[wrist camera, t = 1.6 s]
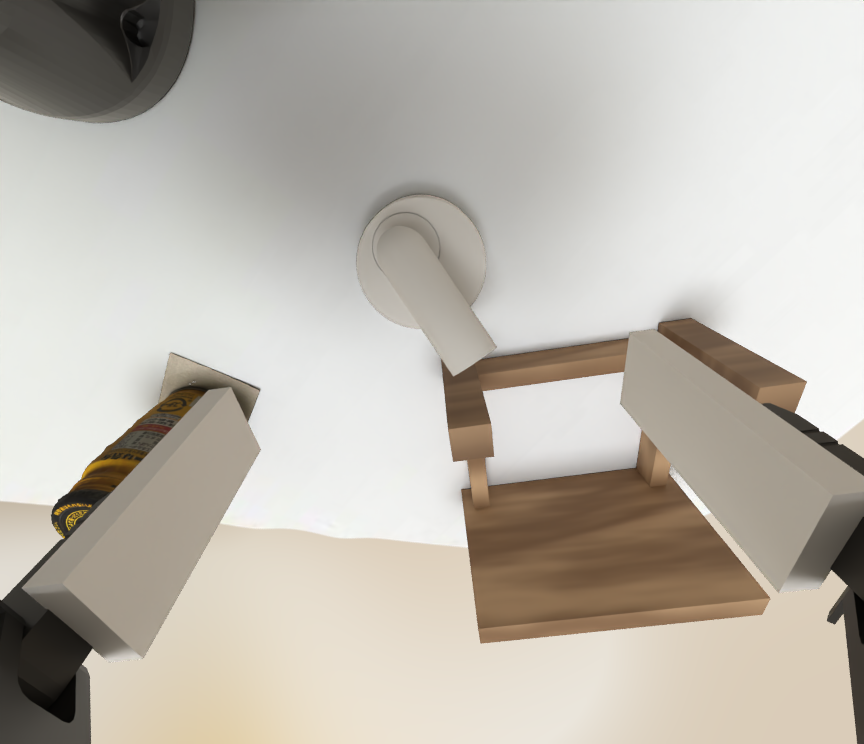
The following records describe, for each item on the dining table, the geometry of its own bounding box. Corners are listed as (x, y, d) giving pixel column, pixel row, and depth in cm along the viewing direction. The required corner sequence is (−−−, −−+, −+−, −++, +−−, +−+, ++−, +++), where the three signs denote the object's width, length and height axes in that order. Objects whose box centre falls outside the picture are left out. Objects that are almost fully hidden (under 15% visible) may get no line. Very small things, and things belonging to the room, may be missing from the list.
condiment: (153, 426, 33) (27, 546, 23) (171, 351, 30) (33, 451, 19) (235, 456, 35) (154, 579, 24) (261, 388, 31) (180, 498, 21)
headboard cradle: (440, 354, 30) (451, 465, 19) (691, 318, 29) (864, 412, 18) (463, 503, 39) (480, 643, 27) (658, 479, 38) (762, 614, 26)
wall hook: (422, 419, 22) (295, 285, 18) (422, 350, 30) (336, 248, 26) (553, 337, 19) (439, 161, 15) (513, 286, 28) (433, 164, 24)
